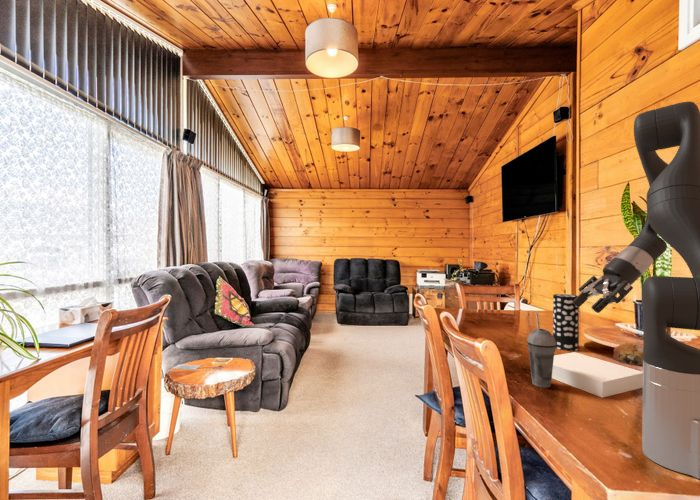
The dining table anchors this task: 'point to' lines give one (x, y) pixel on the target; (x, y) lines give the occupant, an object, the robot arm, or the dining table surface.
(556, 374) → the shelf board
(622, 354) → the bread roll
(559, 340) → the spotted tube
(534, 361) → the beverage cup
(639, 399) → the dining table surface
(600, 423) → the dining table surface
